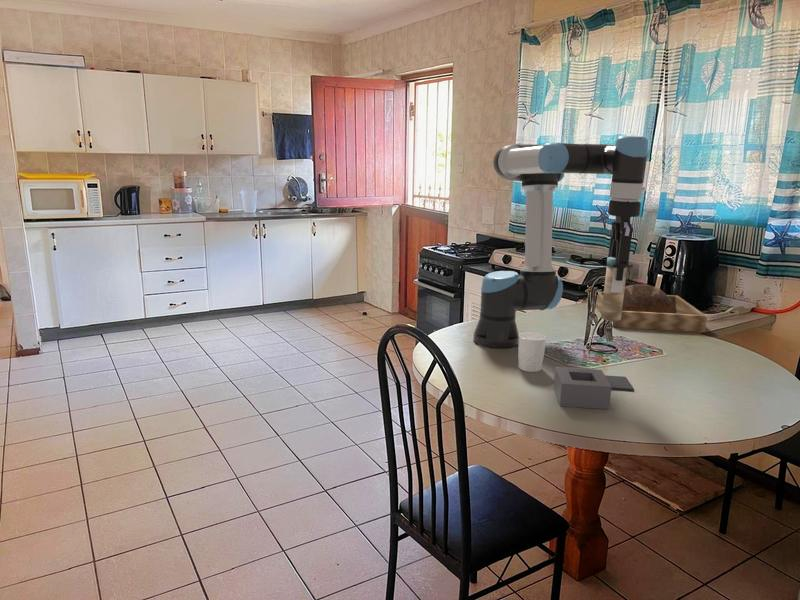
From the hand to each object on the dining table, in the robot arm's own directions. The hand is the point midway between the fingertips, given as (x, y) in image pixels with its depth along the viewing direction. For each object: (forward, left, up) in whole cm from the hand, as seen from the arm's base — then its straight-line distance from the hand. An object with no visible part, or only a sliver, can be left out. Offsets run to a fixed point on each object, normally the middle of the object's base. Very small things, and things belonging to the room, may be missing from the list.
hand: (614, 289), depth 154 cm
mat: (+4, +4, -28) cm, 28 cm away
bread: (+30, +79, -28) cm, 89 cm away
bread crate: (+33, +78, -28) cm, 89 cm away
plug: (0, 0, -8) cm, 8 cm away
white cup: (-18, +12, -28) cm, 35 cm away
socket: (-7, -8, -28) cm, 30 cm away
